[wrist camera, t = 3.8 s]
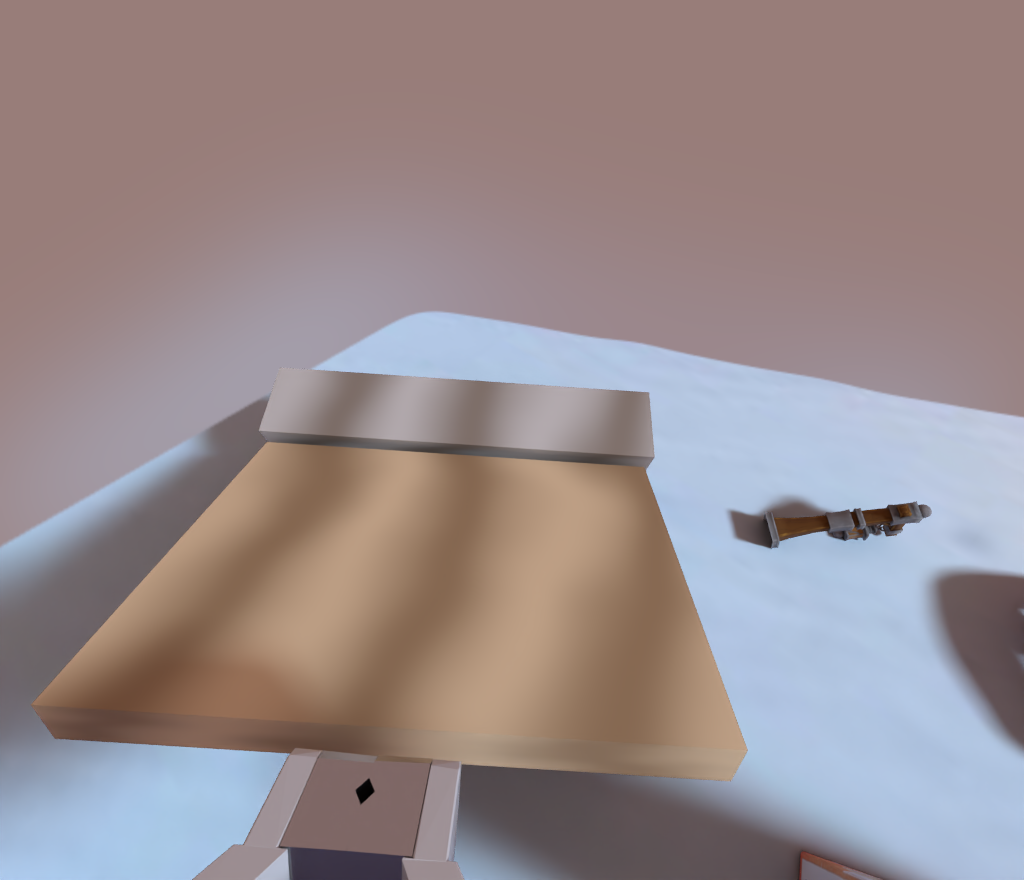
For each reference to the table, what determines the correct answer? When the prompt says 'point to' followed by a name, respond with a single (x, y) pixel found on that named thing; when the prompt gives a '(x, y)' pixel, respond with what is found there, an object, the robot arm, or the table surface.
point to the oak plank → (415, 622)
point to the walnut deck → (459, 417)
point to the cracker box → (827, 870)
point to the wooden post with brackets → (848, 522)
